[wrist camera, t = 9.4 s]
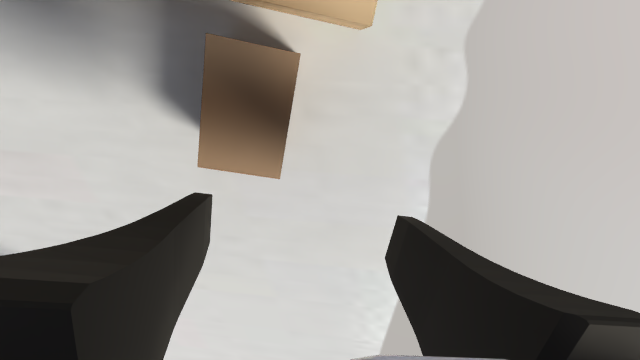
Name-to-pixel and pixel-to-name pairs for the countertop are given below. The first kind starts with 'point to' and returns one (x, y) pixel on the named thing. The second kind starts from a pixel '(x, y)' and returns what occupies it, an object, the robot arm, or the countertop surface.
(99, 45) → the countertop surface
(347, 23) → the oak board
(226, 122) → the walnut block
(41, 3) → the countertop surface
